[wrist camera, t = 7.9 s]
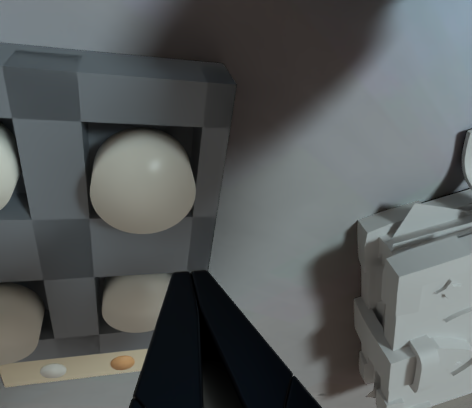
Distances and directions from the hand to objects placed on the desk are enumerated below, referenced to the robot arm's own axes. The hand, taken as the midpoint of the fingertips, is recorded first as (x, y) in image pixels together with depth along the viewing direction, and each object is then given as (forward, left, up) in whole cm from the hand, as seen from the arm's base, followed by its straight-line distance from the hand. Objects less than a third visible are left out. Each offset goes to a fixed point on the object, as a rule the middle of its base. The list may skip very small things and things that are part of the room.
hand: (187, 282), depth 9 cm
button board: (+4, +7, -12) cm, 15 cm away
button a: (+1, +3, -9) cm, 10 cm away
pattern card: (+4, +20, -12) cm, 24 cm away
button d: (+8, +12, -9) cm, 17 cm away
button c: (+1, +11, -11) cm, 16 cm away
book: (-25, +13, -13) cm, 31 cm away
